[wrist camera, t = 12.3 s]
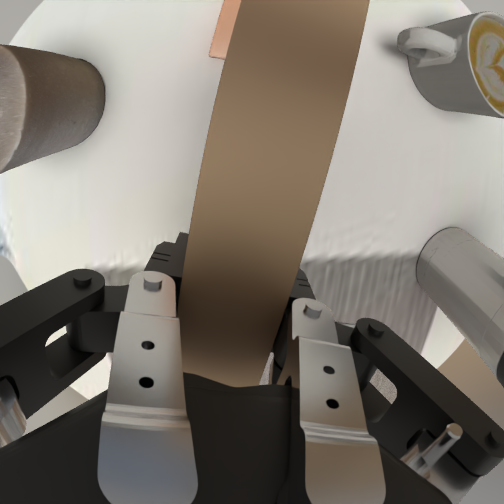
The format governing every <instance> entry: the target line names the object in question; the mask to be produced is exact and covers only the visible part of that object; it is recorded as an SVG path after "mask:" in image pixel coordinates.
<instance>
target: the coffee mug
mask: <svg viewBox="0 0 504 504" xmlns="http://www.w3.org/2000/svg"><path fill="white" fill-rule="evenodd" d="M397 46H398V48H399V50H400V51H401V52H403V53H404V54H406V55H408V63H409V69H410V73H411V76H412V79H413V81H414V83H415V85H416V87H417V89H418V90H419V92H420V93H421V94H422V96H423V97H424V98H425V99H426V100H427V101H428V102H430V103H431V104H432V105H434V106H435V107H437V108H439V109H442V110H446V111H454V112H463V113H471V114H478V115H485V116H492V117H498V118H504V17H503V16H502V15H500V14H497V13H494V12H480V13H476V14H471V15H467V16H463V17H460V18H456V19H452V20H449V21H445V22H442V23H438V24H435V25H431V26H428V27H425V28H420V27H415V28H409V29H406V30H403V31H402V32H401V33H400V34H399V35H398V39H397Z"/></svg>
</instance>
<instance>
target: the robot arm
mask: <svg viewBox="0 0 504 504" xmlns="http://www.w3.org/2000/svg"><path fill="white" fill-rule="evenodd" d="M188 236H189V234H187V233H182V232H180V233H179V236H178V238H177V241H176V243H170V242H163V243H161V244H159V245H157V246H156V248H155V250H154V252H153V254H152V256H151V258H150V260H149V262H148V264H147V266H146V268H145V270H144V271H143V272H139V273H136V274H134V275H133V276H132V277H131V280H130V284H129V285H125V286H105V279H104V277H103V276H102V275H101V274H100V273H98V272H96V271H94V270H90V269H76V270H72V271H69V272H67V273H65V274H63V275H60V276H58V277H56V278H54V279H52V280H50V281H48V282H46V283H44V284H42V285H40V286H38V287H36V288H34V289H32V290H30V291H28V292H26V293H24V294H22V295H20V296H18V297H16V298H14V299H12V300H10V301H8V302H7V303H5V304H3V305H1V306H0V504H458V503H459V502H460V501H461V500H462V499H463V497H464V496H465V495H466V494H467V492H468V491H469V490H470V489H471V488H472V486H473V485H475V484H476V483H477V482H478V481H479V480H481V479H482V478H483V477H484V476H485V475H486V474H488V473H489V472H490V471H491V470H492V469H493V468H494V467H495V466H497V465H498V464H499V463H500V462H501V461H502V460H503V459H504V430H503V429H502V428H501V427H499V425H497V424H496V423H495V422H494V421H493V420H492V419H491V418H490V417H489V416H488V415H487V414H485V412H483V411H482V410H481V409H480V408H479V407H478V406H477V405H476V404H475V403H473V401H471V400H470V399H469V398H468V397H467V396H466V395H465V394H464V393H462V392H461V391H460V390H459V389H458V388H457V387H456V386H455V385H454V384H453V383H451V382H450V381H449V380H448V379H447V378H446V377H445V376H444V375H442V374H441V373H440V372H439V371H438V370H437V369H436V368H435V367H433V366H432V365H431V364H430V363H429V362H428V361H427V360H425V359H424V358H423V357H422V356H421V355H420V354H419V353H418V352H416V351H415V350H414V349H413V348H412V347H411V346H409V345H408V344H407V343H406V342H405V341H404V340H403V339H401V338H400V337H399V336H398V335H397V334H396V333H394V332H393V331H392V330H391V329H390V328H389V327H387V326H386V325H385V324H383V323H381V322H380V321H377V320H374V319H371V318H361V319H359V320H358V321H357V323H356V325H355V327H354V328H352V327H349V326H346V325H343V324H340V323H337V322H335V321H334V316H333V313H332V311H331V310H330V308H329V307H328V306H326V305H325V304H323V303H321V302H319V301H317V300H316V299H315V296H314V294H313V291H312V289H311V287H310V284H309V282H308V279H307V277H306V274H305V273H304V272H303V271H302V270H301V269H300V268H299V269H298V272H297V275H296V278H295V281H294V284H293V287H292V290H291V293H290V296H289V299H288V302H287V305H286V308H285V311H284V314H283V317H282V320H281V323H280V326H279V329H278V332H277V335H276V338H275V340H274V343H273V346H272V349H271V352H273V353H274V357H273V359H272V362H271V365H270V373H269V383H268V385H258V386H247V387H232V386H229V385H226V384H222V383H219V382H216V381H214V380H211V379H208V378H205V377H202V376H199V375H196V374H192V373H186V372H183V369H182V355H181V340H180V323H179V317H177V312H178V304H179V296H180V289H181V282H182V275H183V268H184V262H185V255H186V249H187V242H188ZM416 271H417V279H418V283H419V284H420V286H421V288H422V289H423V290H424V291H425V292H426V293H427V294H428V295H429V296H430V298H431V299H432V300H433V301H434V302H435V303H436V304H437V306H438V307H439V308H440V309H441V310H442V311H443V312H444V314H445V315H446V316H447V317H448V318H449V319H450V321H451V322H452V323H453V324H454V325H455V326H456V328H457V329H458V330H459V331H460V332H461V334H462V335H463V336H464V337H465V339H466V340H467V341H468V342H469V343H470V345H471V346H472V347H473V348H474V350H475V351H476V352H477V353H478V355H479V356H480V357H481V358H482V359H483V361H484V362H485V363H486V364H487V366H488V367H489V368H490V370H491V371H492V372H493V374H494V375H495V376H496V377H497V379H498V381H499V382H500V383H501V384H502V386H503V387H504V259H503V258H502V257H501V256H499V255H498V254H497V253H495V252H494V251H492V250H491V249H490V248H488V247H487V246H485V245H484V244H483V243H481V242H480V241H478V240H477V239H475V238H474V237H472V236H471V235H469V234H468V233H466V232H465V231H463V230H462V229H459V228H448V229H444V230H442V231H440V232H438V233H437V234H436V235H435V236H433V237H432V238H431V239H430V240H429V241H428V243H427V244H426V246H425V247H424V248H423V250H422V252H421V254H420V257H419V260H418V263H417V270H416ZM64 326H66V331H67V333H66V334H64V335H63V336H61V337H60V338H58V339H57V340H55V341H54V342H52V343H51V344H49V345H48V346H46V347H45V345H46V342H47V340H48V338H49V337H50V336H51V335H52V334H53V333H54V332H56V331H58V330H59V329H61V328H62V327H64ZM107 352H113V358H112V365H111V371H110V378H109V386H108V389H107V390H106V391H104V392H102V393H100V394H99V395H97V396H95V397H93V398H92V399H90V400H88V401H86V402H85V403H83V404H81V405H79V406H78V407H76V408H74V409H72V410H70V411H69V412H67V413H65V414H63V415H61V416H59V417H58V418H56V419H54V420H52V421H50V422H48V423H47V424H45V425H43V426H41V427H39V428H37V429H35V430H34V431H32V432H30V433H28V434H26V435H24V436H22V435H23V433H24V432H25V429H26V419H28V418H29V417H30V416H31V415H33V414H34V413H35V412H37V411H38V410H39V409H40V408H42V407H43V406H44V405H45V404H47V403H48V402H49V401H50V400H52V399H53V398H54V397H55V396H57V395H58V394H59V393H60V392H62V391H63V390H64V389H66V388H67V387H68V386H69V385H71V384H72V383H73V382H74V381H76V380H77V379H78V378H79V377H81V376H82V375H83V374H84V373H86V372H87V371H88V370H90V369H91V368H92V367H93V366H95V365H96V364H97V363H98V362H100V361H101V360H102V359H103V358H104V357H105V356H106V353H107ZM377 368H378V369H379V370H380V371H381V372H382V373H383V374H384V375H385V376H386V377H387V378H388V379H389V380H390V381H391V382H392V383H393V384H394V385H395V386H396V389H397V397H396V399H395V401H394V402H393V403H392V404H391V403H390V402H389V401H388V400H387V399H386V398H385V397H384V396H383V395H382V394H381V393H380V392H379V391H378V390H377V389H376V388H375V387H374V386H373V385H372V384H371V383H370V382H369V381H370V380H371V378H372V376H373V375H374V373H375V371H376V370H377Z"/></svg>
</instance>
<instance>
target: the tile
mask: <svg viewBox="0 0 504 504" xmlns="http://www.w3.org/2000/svg"><path fill="white" fill-rule="evenodd" d="M240 3H241V0H224V3H223V6H222V9H221V13H220V16H219V19H218V23H217V26H216V30H215V33H214V37H213V41H212V44H211V48H210V52H209V57H214V58H219V59H225V58H226V54H227V50H228V47H229V43H230V39H231V35H232V32H233V28H234V24H235V21H236V17H237V14H238V10H239V7H240Z"/></svg>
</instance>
